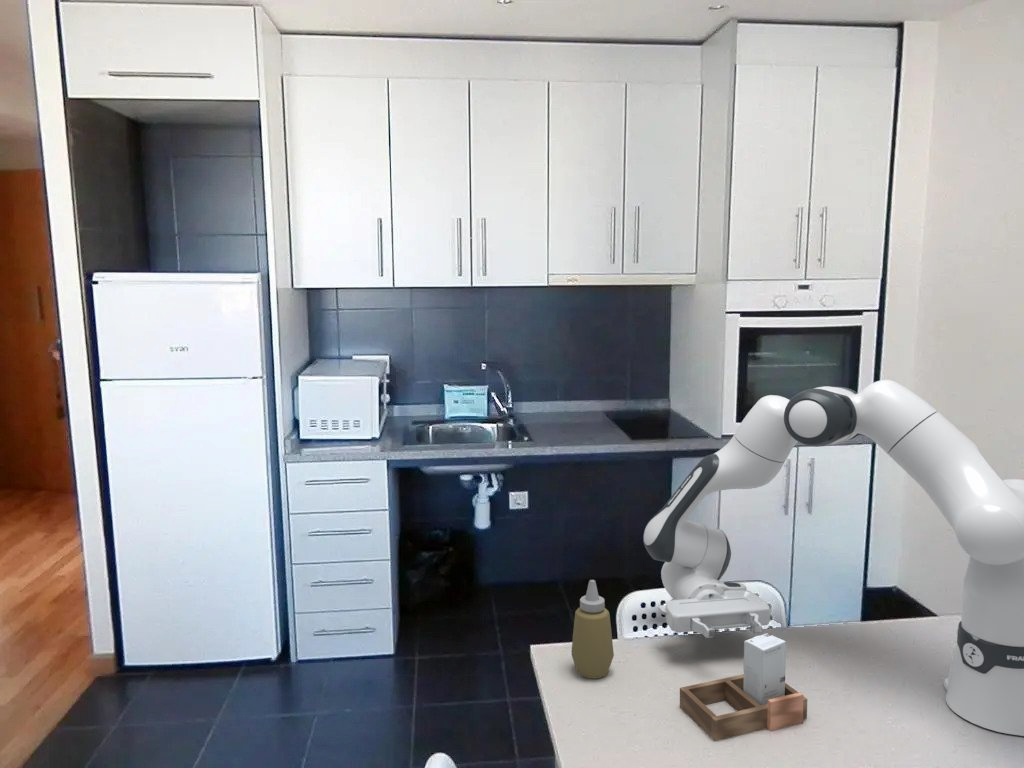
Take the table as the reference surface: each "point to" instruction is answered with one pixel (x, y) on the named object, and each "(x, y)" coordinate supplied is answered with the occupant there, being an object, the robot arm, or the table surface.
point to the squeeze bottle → (592, 635)
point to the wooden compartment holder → (740, 708)
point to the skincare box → (764, 668)
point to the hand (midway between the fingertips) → (734, 631)
